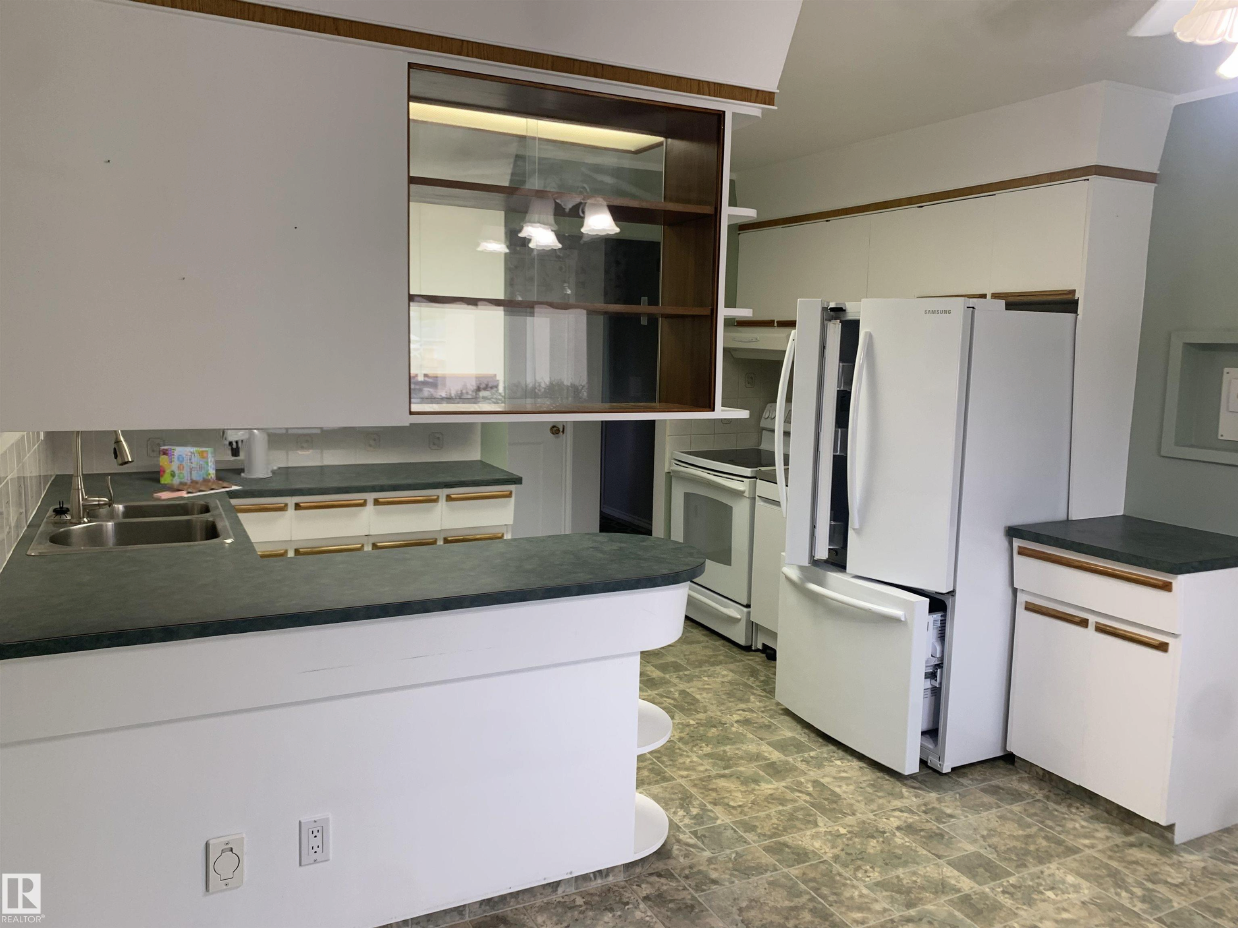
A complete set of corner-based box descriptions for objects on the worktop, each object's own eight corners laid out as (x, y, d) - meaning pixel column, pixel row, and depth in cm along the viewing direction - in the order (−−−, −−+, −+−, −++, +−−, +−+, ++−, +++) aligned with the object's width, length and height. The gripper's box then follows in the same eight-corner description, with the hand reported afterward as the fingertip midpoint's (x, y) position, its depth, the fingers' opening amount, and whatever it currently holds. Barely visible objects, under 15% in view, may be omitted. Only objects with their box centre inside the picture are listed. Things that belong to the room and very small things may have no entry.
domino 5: (224, 482, 356) (203, 477, 348) (232, 484, 354) (211, 479, 345) (223, 486, 356) (202, 481, 347) (231, 487, 354) (210, 483, 345)
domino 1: (177, 489, 339) (153, 494, 330) (186, 490, 336) (161, 495, 328) (178, 493, 339) (153, 498, 330) (186, 494, 337) (162, 500, 328)
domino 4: (213, 484, 352) (191, 479, 343) (221, 485, 349) (199, 480, 341) (212, 488, 352) (190, 483, 343) (220, 489, 349) (198, 484, 341)
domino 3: (202, 485, 348) (179, 480, 339) (210, 487, 345) (188, 482, 337) (201, 489, 347) (178, 484, 339) (209, 491, 345) (187, 486, 336)
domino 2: (190, 487, 343) (167, 482, 335) (198, 489, 341) (175, 483, 332) (189, 491, 343) (166, 486, 334) (197, 493, 341) (174, 487, 332)
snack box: (216, 484, 363) (215, 447, 361) (208, 486, 358) (207, 449, 355) (167, 481, 365) (166, 445, 363) (159, 483, 360) (157, 447, 357)
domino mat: (226, 485, 360) (226, 484, 360) (243, 488, 355) (242, 487, 355) (169, 494, 339) (169, 493, 339) (185, 497, 334) (185, 496, 334)
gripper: (223, 415, 348) (225, 460, 352) (255, 411, 361) (257, 454, 365) (210, 413, 352) (213, 458, 356) (242, 409, 365) (244, 452, 368)
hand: (235, 456), depth 360 cm, fingers closed
